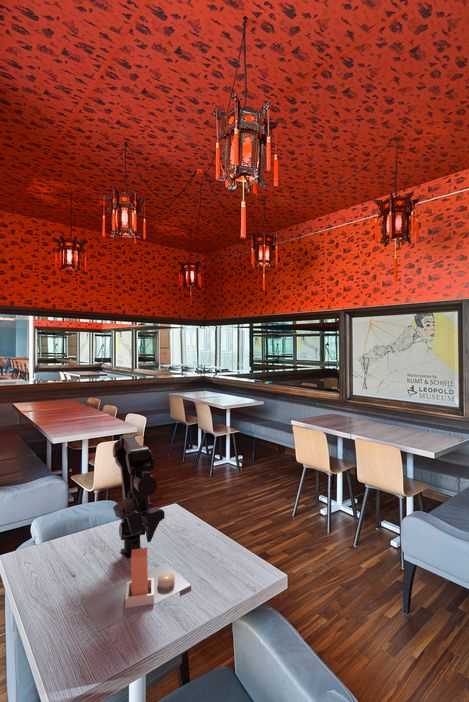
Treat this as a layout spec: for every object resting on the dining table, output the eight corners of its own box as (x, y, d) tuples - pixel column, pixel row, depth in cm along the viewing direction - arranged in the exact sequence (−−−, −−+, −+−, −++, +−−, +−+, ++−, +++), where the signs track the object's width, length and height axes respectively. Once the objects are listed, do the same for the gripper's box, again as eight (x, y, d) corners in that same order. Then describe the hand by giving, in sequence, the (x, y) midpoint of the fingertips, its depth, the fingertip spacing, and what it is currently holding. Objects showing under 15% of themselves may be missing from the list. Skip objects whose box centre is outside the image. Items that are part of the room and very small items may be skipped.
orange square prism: (132, 592, 110) (131, 549, 110) (148, 590, 111) (147, 547, 111) (132, 602, 106) (130, 558, 105) (147, 600, 107) (146, 555, 106)
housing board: (80, 604, 107) (80, 592, 107) (166, 565, 125) (166, 555, 125) (99, 636, 95) (98, 622, 95) (191, 588, 113) (190, 577, 113)
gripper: (102, 488, 120) (103, 538, 119) (133, 500, 107) (134, 556, 106) (133, 480, 128) (133, 527, 127) (165, 490, 115) (166, 542, 114)
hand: (140, 537), depth 118 cm, fingers open, 9 cm apart
